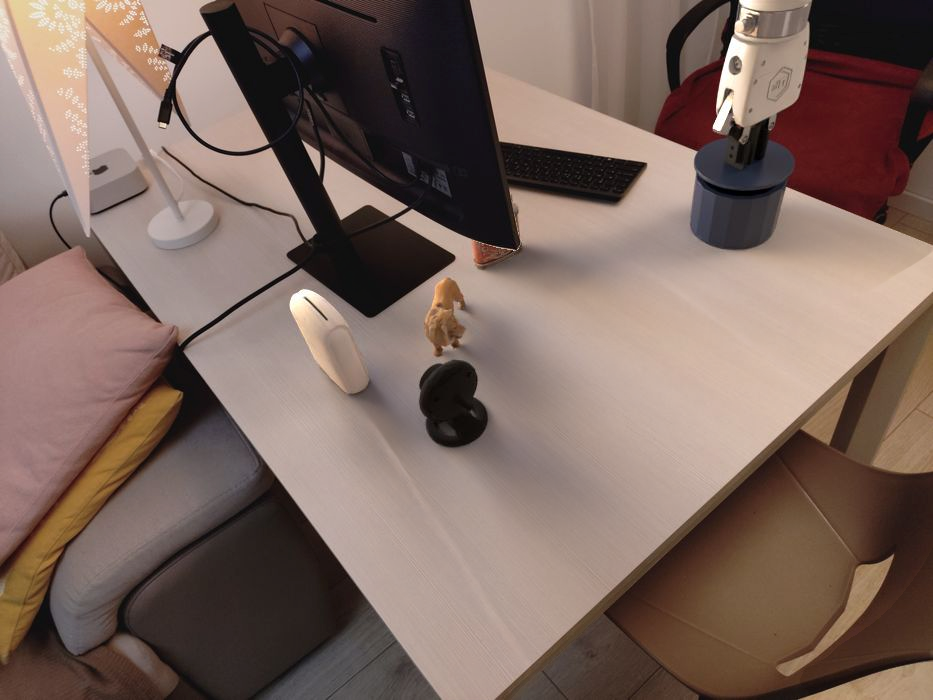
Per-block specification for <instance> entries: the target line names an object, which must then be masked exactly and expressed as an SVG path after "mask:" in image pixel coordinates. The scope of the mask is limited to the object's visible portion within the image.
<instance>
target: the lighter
mask: <svg viewBox="0 0 933 700" xmlns="http://www.w3.org/2000/svg"><path fill="white" fill-rule="evenodd" d="M511 200H512V205H513V210H514V214H515V218H516V223H517V228H518V232H519V236H520V237H521V232H520V222H519V212H520V211H519V206H518V205H517V204H516V203H515V202H513V195H512V194H511ZM471 246H472V251H473V256H474V258H473V263H474V267H475V268H476V269H478V270H482V271H483V270H487V269H490V268H493V267H496V266H498V265H501V264H503V263H505V262H507V261H509V260H511V259H512V258H514V257H516V256H517V255H519V254H520V253H521V252H522V251H523V242H522V241H521V245H520V247H519V249H518V250H516V251H513V250H507V249H501V248H496V247H493V246H489V245H486V244H482V243H479V242H476V241H473V240H471Z"/></svg>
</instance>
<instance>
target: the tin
mask: <svg viewBox="0 0 933 700" xmlns="http://www.w3.org/2000/svg"><path fill="white" fill-rule="evenodd" d="M788 182H789V177H788V178H787V179H786V180H785V181H783V182H781V183H779V184H777V185H775V186H772V187H769V188H765V189H759V190H732V189H727V188H722V187H719V186H716V185H713V184H711V183H709V182H707V181H706V180H704V179H703V178H701V177H700V176H699V175H698V174H697V172H696V171H695V179H694V184H693V185H694V186H693V194H692V200H691V208H690V214H689V228H690V231H691V232H692V234H693V235H694V236H695V237H696V238H697V239H698V240H700V241H701V242H702V243H705V244H707V245H709V246H712V247H714V248H719V249H723V250H746V249H751V248H755V247H758V246H760V245H762V244H764V243H766V242H767V241H768V240H769V239H770V238H771V237H772V236H773V234H774V232H775V230H776V228H777V225H778V220H779V216H780V212H781V209H782V205H783V202H784V201H783V200H784V197H785V192H786V189H787V185H788Z"/></svg>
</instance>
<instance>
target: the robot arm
mask: <svg viewBox="0 0 933 700" xmlns="http://www.w3.org/2000/svg"><path fill="white" fill-rule="evenodd" d="M812 3H813V0H738V4H737V11H736V19H735V24H734V34H733V35H732V36H731V40H730V43H729V46H728V49H727V52H726V55H725V59H724V60H725V61H724V63H723V67H722V71H721V76H720V81H719V85H718V91H717V98H716V106H715V107H716V109H715V111H716V116H717V117H716V118H715V122H714V123H713V126H712V132H714V133H715V134H718V135H721V136H725V138H728V141H727V147H726V153H725V158H724V161H725V162H726V163H727V164H729V165H731V166H733V167H735V168H737V169H739V170H743V169H745V168H746V165H747V160H748V155H749V150H750V145H751V142H750V141H748V138H749V134H750V130H751V126H752V125H754V124H756V123H758V122H760V121H761V122H762V124H761V129H760V134H759V139H758V144H757V148H756V153H755V158H756V159H758V160H762V159H763V158H764V157H765V153H766V148H767V144H768V140H770V134H771V131H772V130H773V129H774V127H775V125H776V121H777V117H778V116H779V114H780V113H781V112H782V111H784V110H785V109H787V108H789V107H790V106H792V105H793V104H795V103H796V102H797V100H798V99H799V97H800V93H801V90H802V85H803V80H804V75H805V71H806V65H807V58H808V53H809V44H810V22H809V17H810V12H811V7H812ZM737 125H738V126H737ZM739 125H740V126H741V130H740V129H739Z"/></svg>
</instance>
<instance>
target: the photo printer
mask: <svg viewBox="0 0 933 700" xmlns="http://www.w3.org/2000/svg"><path fill="white" fill-rule="evenodd" d="M289 301H290V302H289V309H290V312H291V314H292V317H293V318H294V321H295V322H296V325H297V326H298V328H299V330H300V331H299V332H300V333H301V335H302V336H303V338H304V340H305V343H306V344H307V347H308V348H309V351H310V352H311V355H312V357H313V359H314V360H315V362H316V363H317V364H318V365H319V366H320V368H321V369H322V370H323V372H324V373H325V374H326V375H327V376H328V377H329V378H330V379H331V380H332V381H333V382H334V383H335V384H336V385H337V386H338V388H340V389H341V390H342V391H343V392H344V393H346V394H347V395H350V394H353V395H354V394H358V393H360V392H362V391H364V389H366V388H367V386H368V385H369V381H371V376H370V373H369V371H368V369H367V366H366V364H365V361H364V359H363V356H362V354H361V352H360V349H359V347H358V345H357V343H356V340H355V337H354V335H353V332H352V330H351V328H350V325H349V324H348V322H347V320H346V319H345V318H344V317H343V315H341V313H340V312H339V311H338V310H337V309H336V308H335V307H334V306H333V305H332V304H331V303H330V302H329V301H328V300H327V299H325V298H324V296H322V295H320V294H318V293H317V292H315V291H312V290H309V289H301V290H300V291H299V292H296V293H294V294H292V296H291V298H290V300H289Z"/></svg>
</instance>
